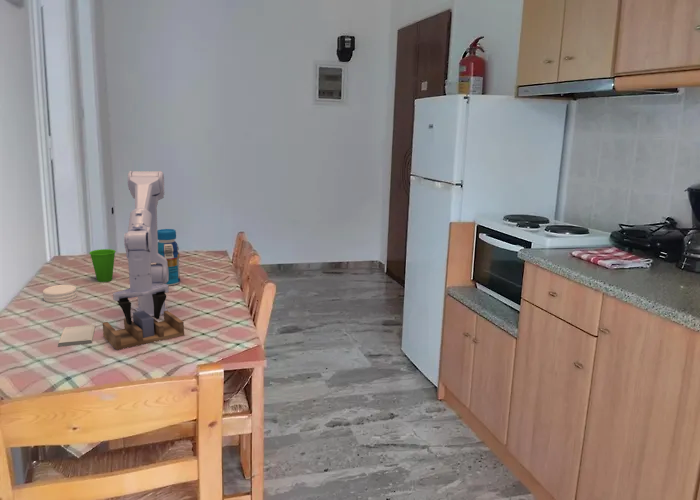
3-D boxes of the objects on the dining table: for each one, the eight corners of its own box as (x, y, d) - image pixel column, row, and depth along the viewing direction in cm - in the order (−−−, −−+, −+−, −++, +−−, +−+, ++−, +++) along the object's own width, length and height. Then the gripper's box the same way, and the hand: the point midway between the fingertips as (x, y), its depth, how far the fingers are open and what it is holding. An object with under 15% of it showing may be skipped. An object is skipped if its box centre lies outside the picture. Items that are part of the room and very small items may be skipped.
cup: (117, 282, 207) (115, 253, 204) (90, 284, 203) (88, 255, 201) (117, 276, 215) (115, 248, 212) (92, 278, 211) (89, 249, 209)
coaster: (63, 304, 182) (62, 294, 181) (36, 301, 184) (35, 291, 183) (83, 295, 191) (82, 285, 190) (58, 293, 193) (57, 283, 192)
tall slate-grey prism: (133, 329, 158) (132, 312, 157) (144, 327, 160) (143, 310, 159) (143, 337, 152) (142, 320, 151) (154, 335, 154) (153, 318, 153)
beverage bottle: (152, 285, 204) (149, 231, 200) (164, 279, 212) (162, 227, 208) (172, 287, 202) (170, 233, 198) (185, 281, 210) (182, 229, 206)
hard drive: (91, 339, 150) (95, 324, 161) (57, 343, 147) (63, 326, 158) (92, 345, 150) (95, 329, 162) (58, 348, 147) (64, 332, 159)
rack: (103, 336, 155) (102, 322, 154) (168, 323, 166) (167, 310, 165) (116, 350, 146) (115, 335, 145) (184, 335, 157) (183, 321, 156)
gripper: (117, 281, 145) (120, 330, 148) (171, 273, 153) (174, 319, 156) (109, 275, 150) (112, 322, 153) (162, 267, 159) (164, 312, 162)
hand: (143, 320), depth 155 cm, fingers open, 7 cm apart
